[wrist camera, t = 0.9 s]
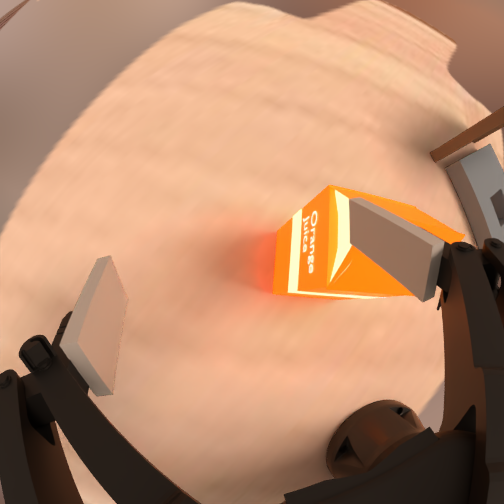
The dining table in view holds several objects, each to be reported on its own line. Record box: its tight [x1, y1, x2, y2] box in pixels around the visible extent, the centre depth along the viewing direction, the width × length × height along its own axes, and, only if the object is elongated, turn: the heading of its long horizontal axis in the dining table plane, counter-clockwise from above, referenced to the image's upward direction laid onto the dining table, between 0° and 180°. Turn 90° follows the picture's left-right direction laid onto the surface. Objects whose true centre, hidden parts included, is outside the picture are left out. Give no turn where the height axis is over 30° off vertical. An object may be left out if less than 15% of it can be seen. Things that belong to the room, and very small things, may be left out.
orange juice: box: [272, 185, 465, 300], centre depth 25 cm, size 8×9×20 cm
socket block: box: [445, 144, 504, 249], centre depth 39 cm, size 18×14×4 cm
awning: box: [430, 106, 504, 162], centre depth 31 cm, size 7×18×21 cm, turn 117°
